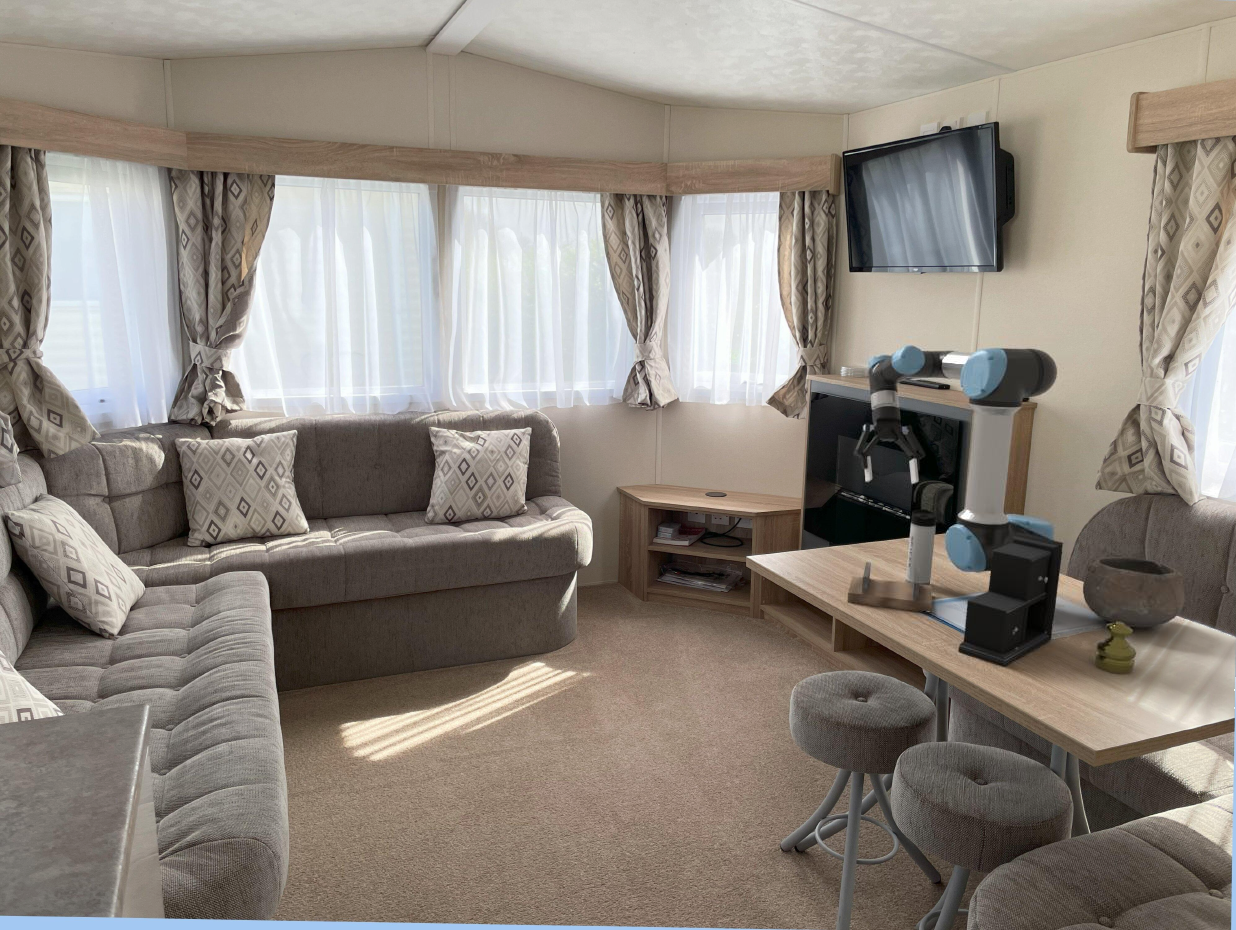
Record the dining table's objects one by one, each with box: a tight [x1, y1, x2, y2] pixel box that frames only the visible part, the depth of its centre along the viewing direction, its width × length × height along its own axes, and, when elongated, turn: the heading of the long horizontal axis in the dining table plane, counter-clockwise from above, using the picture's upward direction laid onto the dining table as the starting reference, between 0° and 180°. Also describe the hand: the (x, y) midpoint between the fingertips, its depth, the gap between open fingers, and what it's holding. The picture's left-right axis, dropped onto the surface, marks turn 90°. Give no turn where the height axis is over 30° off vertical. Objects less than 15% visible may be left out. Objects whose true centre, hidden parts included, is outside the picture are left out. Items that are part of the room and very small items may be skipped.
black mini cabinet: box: [957, 533, 1064, 668], centre depth 200 cm, size 23×11×24 cm, turn 132°
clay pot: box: [1082, 556, 1186, 628], centre depth 217 cm, size 21×21×15 cm
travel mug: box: [905, 508, 938, 586], centre depth 242 cm, size 6×7×20 cm
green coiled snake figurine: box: [1094, 622, 1137, 675], centre depth 191 cm, size 7×7×10 cm
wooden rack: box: [847, 561, 933, 612], centre depth 231 cm, size 20×14×7 cm
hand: (892, 481), depth 250 cm, fingers open, 13 cm apart
